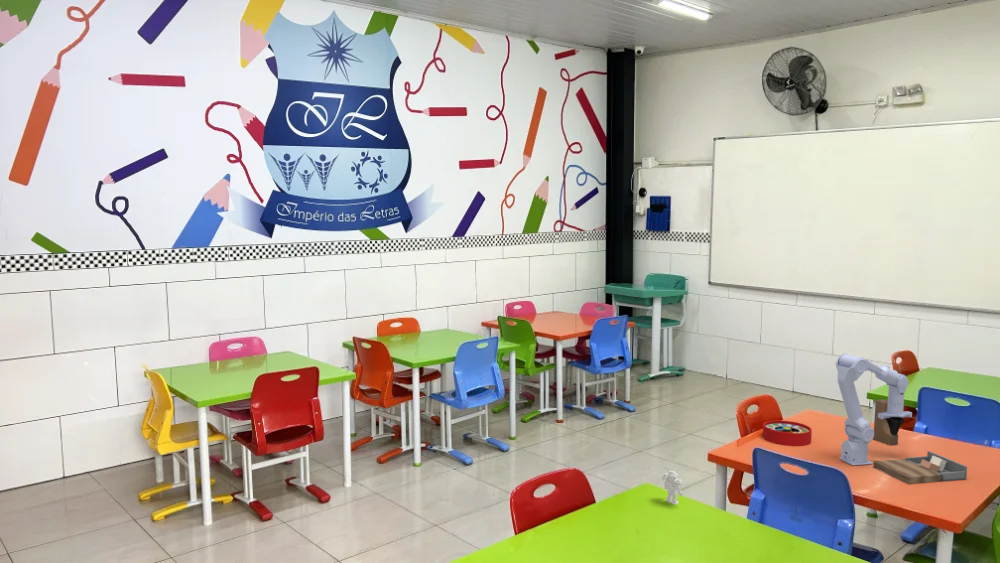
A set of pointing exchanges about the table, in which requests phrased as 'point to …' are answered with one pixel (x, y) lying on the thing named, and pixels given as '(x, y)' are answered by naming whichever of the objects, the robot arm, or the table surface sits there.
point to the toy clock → (787, 433)
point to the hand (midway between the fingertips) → (893, 434)
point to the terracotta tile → (930, 465)
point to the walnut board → (907, 471)
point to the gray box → (950, 470)
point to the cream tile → (938, 462)
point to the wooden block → (883, 425)
